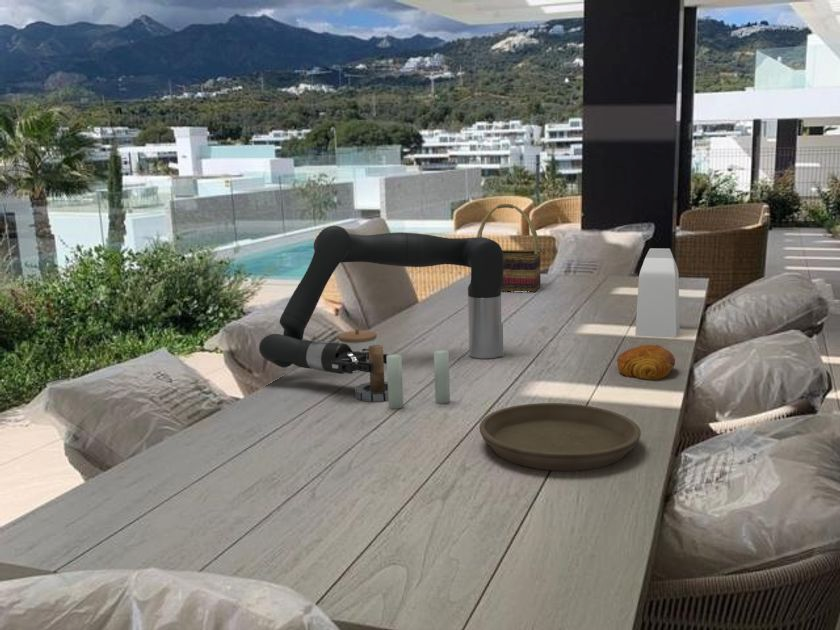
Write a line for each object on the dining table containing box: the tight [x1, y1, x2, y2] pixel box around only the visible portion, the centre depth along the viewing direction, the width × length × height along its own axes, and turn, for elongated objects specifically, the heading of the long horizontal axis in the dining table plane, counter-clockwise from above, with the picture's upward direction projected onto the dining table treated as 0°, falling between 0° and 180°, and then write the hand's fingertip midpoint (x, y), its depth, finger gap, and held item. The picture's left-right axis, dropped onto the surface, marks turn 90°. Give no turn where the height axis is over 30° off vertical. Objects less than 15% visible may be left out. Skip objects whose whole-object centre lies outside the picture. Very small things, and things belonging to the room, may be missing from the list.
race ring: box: [354, 380, 388, 403], centre depth 204 cm, size 11×11×2 cm
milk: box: [634, 248, 681, 339], centre depth 257 cm, size 12×12×26 cm
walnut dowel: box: [369, 344, 385, 392], centre depth 203 cm, size 3×3×12 cm
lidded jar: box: [337, 328, 377, 362], centre depth 236 cm, size 11×11×9 cm
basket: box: [476, 203, 542, 293], centre depth 342 cm, size 26×15×35 cm, turn 72°
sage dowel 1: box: [386, 353, 404, 410], centre depth 193 cm, size 3×3×12 cm
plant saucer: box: [478, 402, 642, 472], centre depth 165 cm, size 31×31×5 cm
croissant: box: [616, 344, 676, 381], centre depth 215 cm, size 14×16×8 cm
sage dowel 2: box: [433, 349, 451, 405], centre depth 195 cm, size 3×3×12 cm
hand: (383, 363), depth 201 cm, fingers open, 8 cm apart
